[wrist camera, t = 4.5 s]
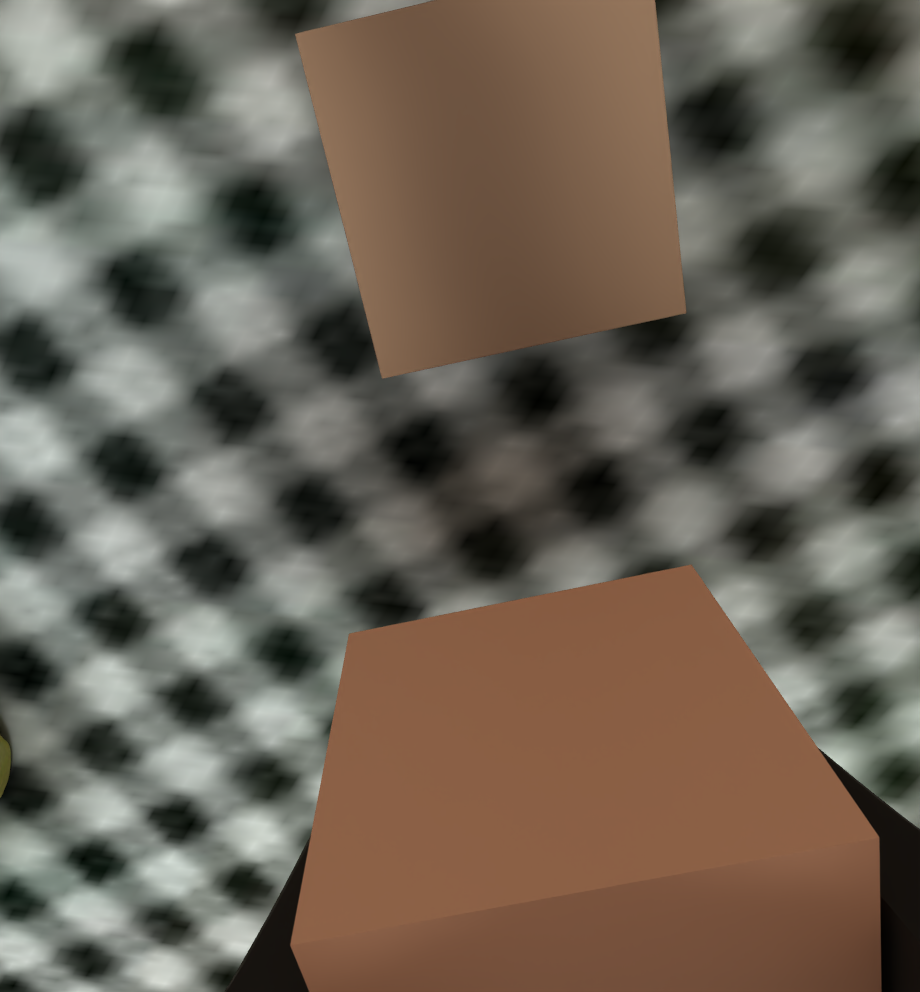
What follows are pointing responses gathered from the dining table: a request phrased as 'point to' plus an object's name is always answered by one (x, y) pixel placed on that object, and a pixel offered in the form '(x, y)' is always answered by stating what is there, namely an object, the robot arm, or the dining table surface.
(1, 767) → the plant pot
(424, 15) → the walnut block
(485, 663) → the terracotta block
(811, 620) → the dining table surface
